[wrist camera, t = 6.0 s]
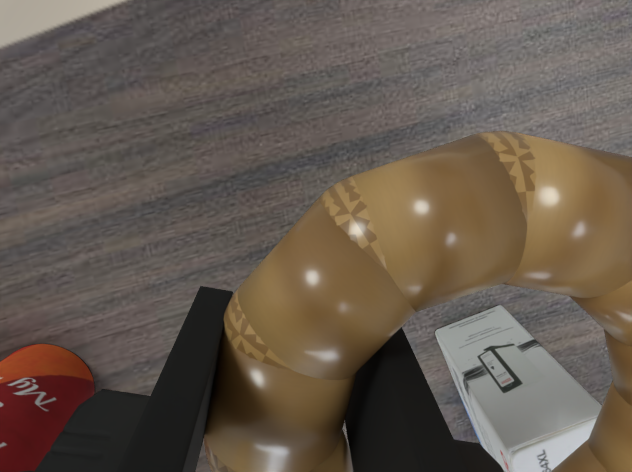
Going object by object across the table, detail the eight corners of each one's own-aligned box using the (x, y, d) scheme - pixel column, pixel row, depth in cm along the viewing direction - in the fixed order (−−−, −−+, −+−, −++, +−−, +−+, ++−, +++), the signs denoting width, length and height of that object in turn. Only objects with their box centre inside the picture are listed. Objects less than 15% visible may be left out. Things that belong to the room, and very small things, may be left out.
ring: (266, 79, 11) (258, 77, 8) (780, 189, 12) (937, 221, 9) (188, 538, 14) (163, 656, 11) (598, 583, 15) (670, 698, 12)
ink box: (537, 405, 34) (659, 559, 23) (470, 431, 35) (557, 595, 23) (502, 300, 32) (619, 413, 21) (430, 329, 32) (506, 456, 21)
